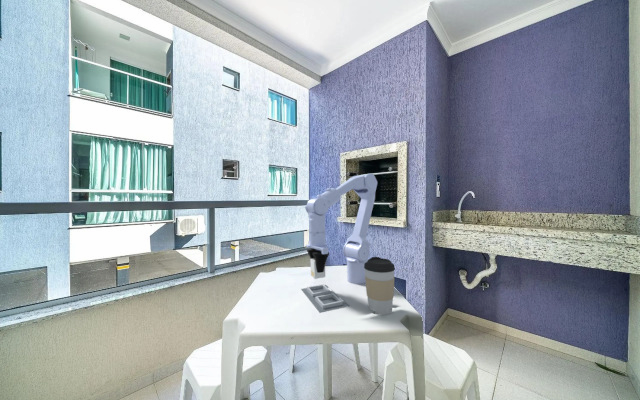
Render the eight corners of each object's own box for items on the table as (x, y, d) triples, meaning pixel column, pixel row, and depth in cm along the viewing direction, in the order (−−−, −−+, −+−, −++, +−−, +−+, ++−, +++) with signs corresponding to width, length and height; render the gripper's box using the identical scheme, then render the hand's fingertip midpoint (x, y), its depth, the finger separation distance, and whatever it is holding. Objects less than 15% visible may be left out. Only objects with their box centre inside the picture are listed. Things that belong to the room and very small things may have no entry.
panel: (325, 286, 85) (325, 282, 85) (350, 308, 67) (350, 302, 67) (300, 291, 81) (300, 286, 81) (319, 315, 64) (319, 309, 64)
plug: (321, 273, 81) (320, 255, 81) (325, 277, 77) (324, 258, 77) (310, 275, 80) (310, 257, 80) (314, 278, 76) (314, 259, 76)
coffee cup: (401, 315, 63) (400, 262, 63) (371, 318, 61) (370, 264, 61) (387, 301, 72) (386, 255, 72) (360, 304, 70) (359, 256, 70)
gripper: (300, 230, 84) (301, 266, 84) (313, 235, 70) (314, 278, 70) (317, 229, 87) (318, 264, 86) (333, 234, 73) (334, 275, 73)
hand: (318, 270), depth 79 cm, fingers closed on plug, 4 cm apart
